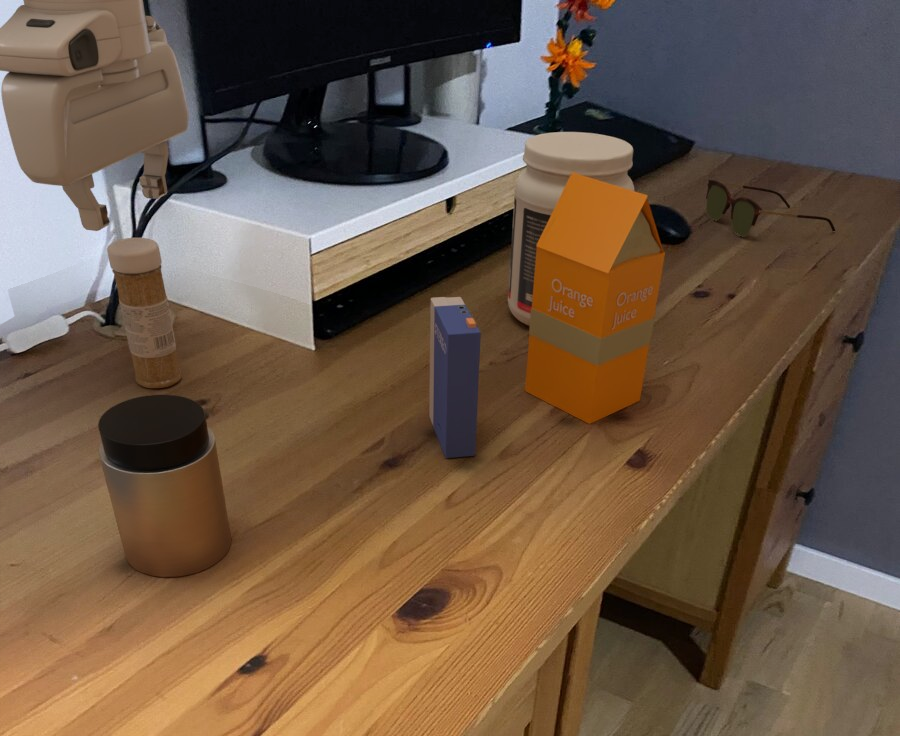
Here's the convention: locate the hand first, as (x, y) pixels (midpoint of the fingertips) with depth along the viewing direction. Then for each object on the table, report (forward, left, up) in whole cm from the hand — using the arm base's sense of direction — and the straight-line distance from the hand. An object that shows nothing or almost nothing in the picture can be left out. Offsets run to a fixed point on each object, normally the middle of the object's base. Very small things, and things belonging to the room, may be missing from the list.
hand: (127, 211), depth 81 cm
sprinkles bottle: (0, 0, -17) cm, 17 cm away
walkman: (+31, -1, -17) cm, 35 cm away
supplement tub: (+35, +30, -17) cm, 49 cm away
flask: (+16, -24, -16) cm, 33 cm away
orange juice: (+41, +11, -17) cm, 45 cm away
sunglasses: (+57, +74, -17) cm, 95 cm away
